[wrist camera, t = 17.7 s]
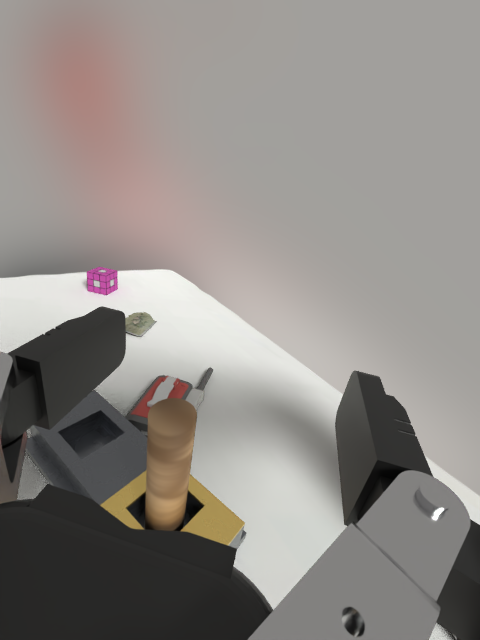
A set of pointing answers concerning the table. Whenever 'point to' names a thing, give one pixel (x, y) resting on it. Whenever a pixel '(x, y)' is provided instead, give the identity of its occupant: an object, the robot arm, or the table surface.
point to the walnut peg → (168, 463)
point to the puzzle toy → (102, 280)
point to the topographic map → (139, 323)
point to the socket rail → (119, 470)
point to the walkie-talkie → (165, 397)
